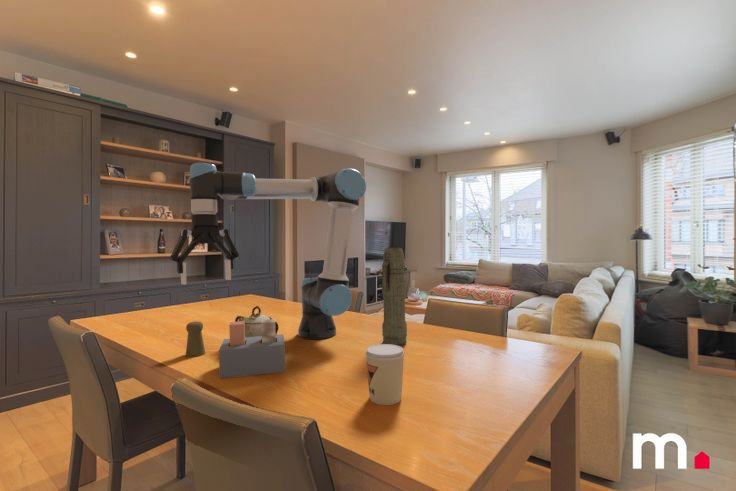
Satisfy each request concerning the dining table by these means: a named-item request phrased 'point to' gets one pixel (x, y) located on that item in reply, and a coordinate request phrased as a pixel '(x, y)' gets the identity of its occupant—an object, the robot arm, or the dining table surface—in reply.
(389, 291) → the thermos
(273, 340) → the cream peg
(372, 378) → the cream lidded canister
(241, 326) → the terracotta peg
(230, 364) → the socket block
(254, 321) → the sugar bowl
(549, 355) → the dining table surface
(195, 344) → the green pepper mill
